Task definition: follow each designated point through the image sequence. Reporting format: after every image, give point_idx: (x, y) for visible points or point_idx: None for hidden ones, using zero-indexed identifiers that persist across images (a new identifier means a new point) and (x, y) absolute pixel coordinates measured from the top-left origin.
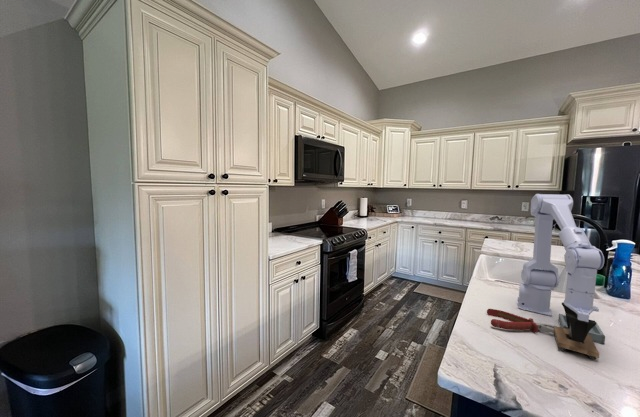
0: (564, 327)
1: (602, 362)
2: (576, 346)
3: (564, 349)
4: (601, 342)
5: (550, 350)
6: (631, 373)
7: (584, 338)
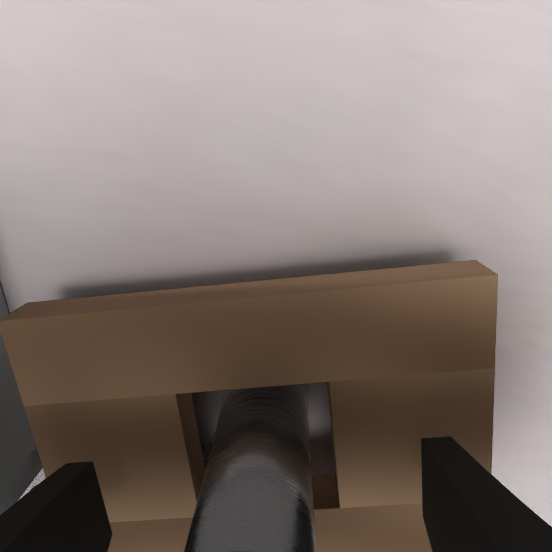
0: (7, 501)
1: (424, 216)
2: (474, 450)
3: None
4: None
5: None
6: (482, 4)
7: (487, 476)
